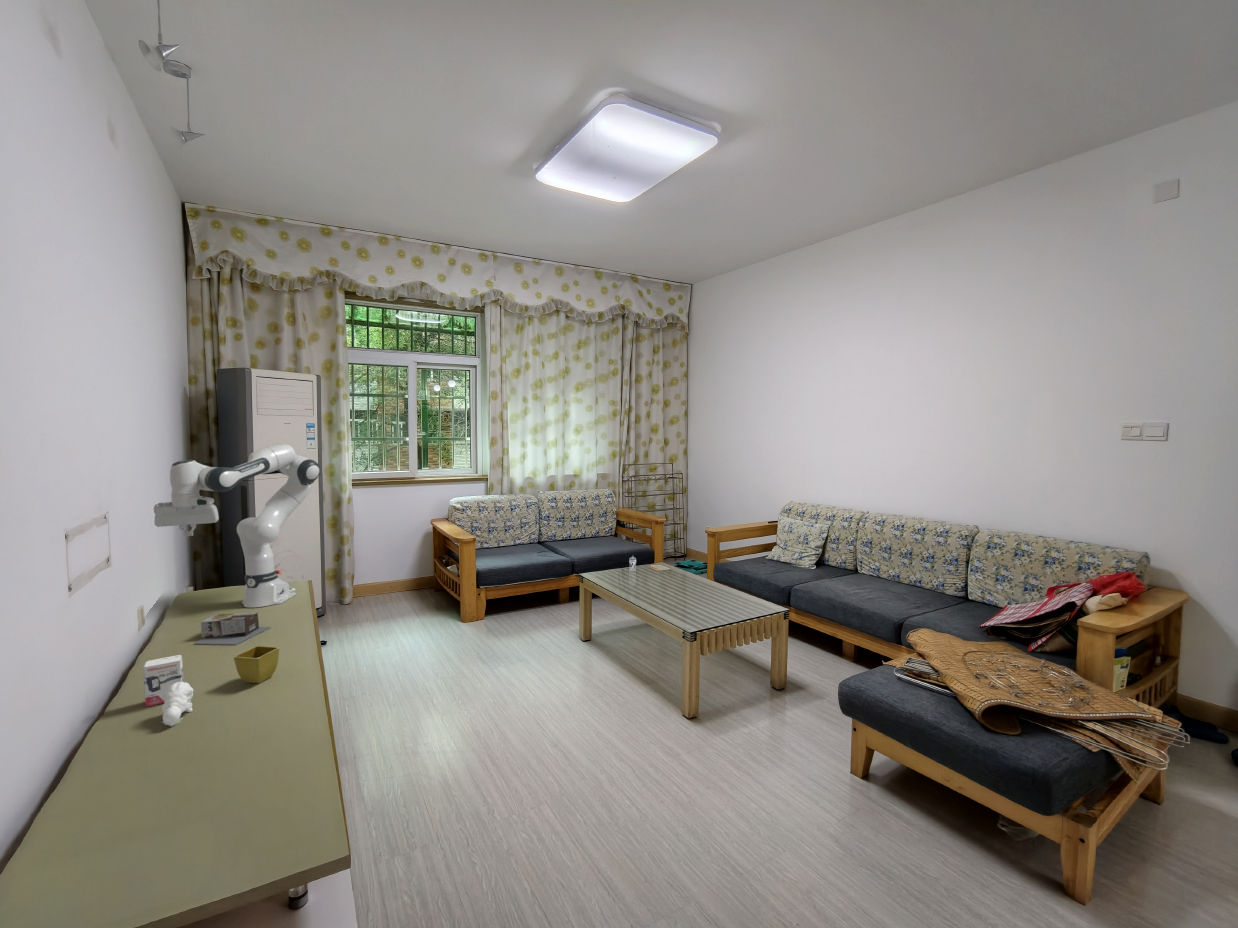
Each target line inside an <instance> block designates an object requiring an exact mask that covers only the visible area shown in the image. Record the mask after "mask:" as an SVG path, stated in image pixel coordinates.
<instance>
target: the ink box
mask: <svg viewBox="0 0 1238 928" xmlns="http://www.w3.org/2000/svg"><path fill="white" fill-rule="evenodd" d="M183 665H184V664H183V655H181V654H177V655H172V656H168V657H167V656H166V657H162V658H157V659H156V658H155V659H150V660H147V661H146V662H144V665H143V667H142V668H143V682H144V683H143V684H144V696H145V697H144V699H145V707H153V706H157V705H160V704H164V703H165V700H166V698H165V697H164V694H165V692H166V691H167V689H168V688H169V687H170V686H171V685H173V684H174V683H177V682H184V667H183Z"/></svg>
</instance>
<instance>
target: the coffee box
mask: <svg viewBox="0 0 1238 928" xmlns="http://www.w3.org/2000/svg"><path fill="white" fill-rule="evenodd" d="M259 624H260V623H259V615H258V612H248V613H246V612H245V613H243V612H241V613H226V614H225V613H223V614H222V613H221V614H214V615H211V616H210V617H208V618H206V619H204V620H201V621H200V631H201V638H207V637H223V636H246V635H248V634H249V633H251V632H253V631H254V630H256V629H258V628H259V627H260V625H259Z"/></svg>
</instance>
